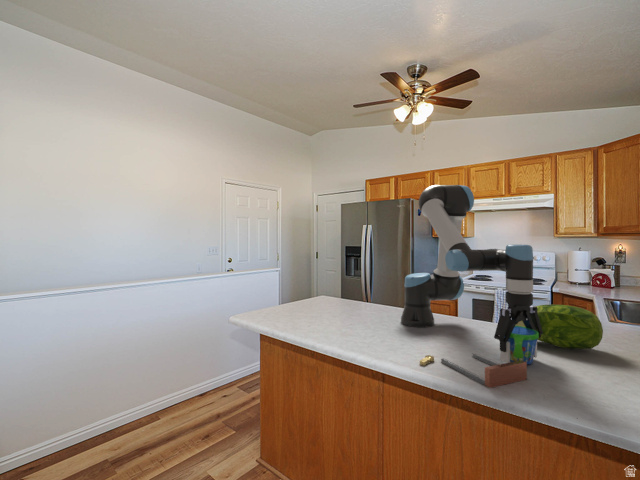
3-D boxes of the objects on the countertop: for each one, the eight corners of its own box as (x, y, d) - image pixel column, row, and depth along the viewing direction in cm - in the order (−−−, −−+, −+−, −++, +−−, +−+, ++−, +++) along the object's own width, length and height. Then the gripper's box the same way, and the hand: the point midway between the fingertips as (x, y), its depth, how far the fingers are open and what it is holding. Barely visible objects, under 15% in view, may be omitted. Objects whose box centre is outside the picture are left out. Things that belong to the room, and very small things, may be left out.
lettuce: (515, 334, 131) (514, 297, 131) (600, 347, 115) (600, 304, 115) (511, 344, 119) (510, 303, 119) (605, 360, 103) (605, 313, 103)
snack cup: (535, 373, 93) (535, 339, 93) (495, 364, 100) (495, 332, 100) (540, 357, 105) (541, 327, 105) (504, 350, 112) (504, 321, 112)
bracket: (474, 356, 107) (474, 341, 107) (526, 379, 89) (526, 362, 89) (441, 362, 102) (441, 347, 102) (489, 387, 85) (489, 369, 85)
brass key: (427, 358, 106) (427, 354, 106) (435, 360, 104) (435, 356, 104) (417, 364, 101) (417, 360, 101) (426, 366, 99) (426, 362, 99)
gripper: (533, 287, 110) (533, 349, 110) (481, 292, 102) (481, 359, 102) (556, 291, 103) (555, 357, 103) (501, 296, 95) (501, 368, 95)
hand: (518, 358), depth 102 cm, fingers closed on snack cup, 11 cm apart
